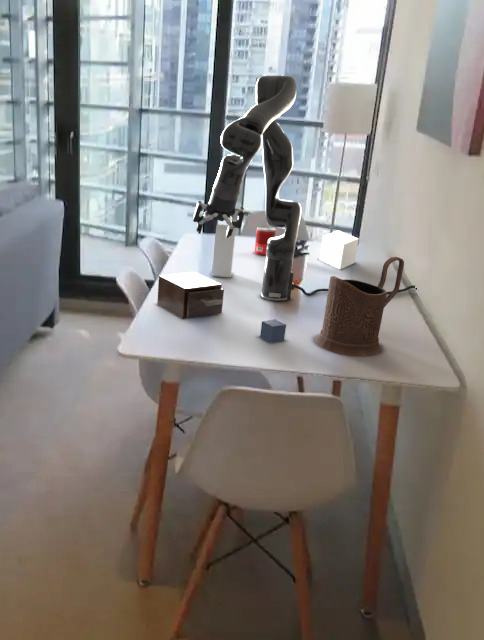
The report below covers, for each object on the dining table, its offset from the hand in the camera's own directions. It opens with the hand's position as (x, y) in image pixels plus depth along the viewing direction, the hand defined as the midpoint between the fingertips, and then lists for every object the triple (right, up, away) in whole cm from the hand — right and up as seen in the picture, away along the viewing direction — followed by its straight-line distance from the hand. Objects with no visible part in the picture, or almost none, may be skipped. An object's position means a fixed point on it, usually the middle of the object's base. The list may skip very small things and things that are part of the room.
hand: (213, 233), depth 215 cm
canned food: (+32, +10, +95) cm, 100 cm away
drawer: (-4, -22, +14) cm, 26 cm away
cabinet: (-6, -21, +18) cm, 28 cm away
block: (+17, -32, -5) cm, 36 cm away
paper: (+62, +6, +88) cm, 108 cm away
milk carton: (+10, -4, +59) cm, 61 cm away
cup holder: (+41, -33, -5) cm, 53 cm away
